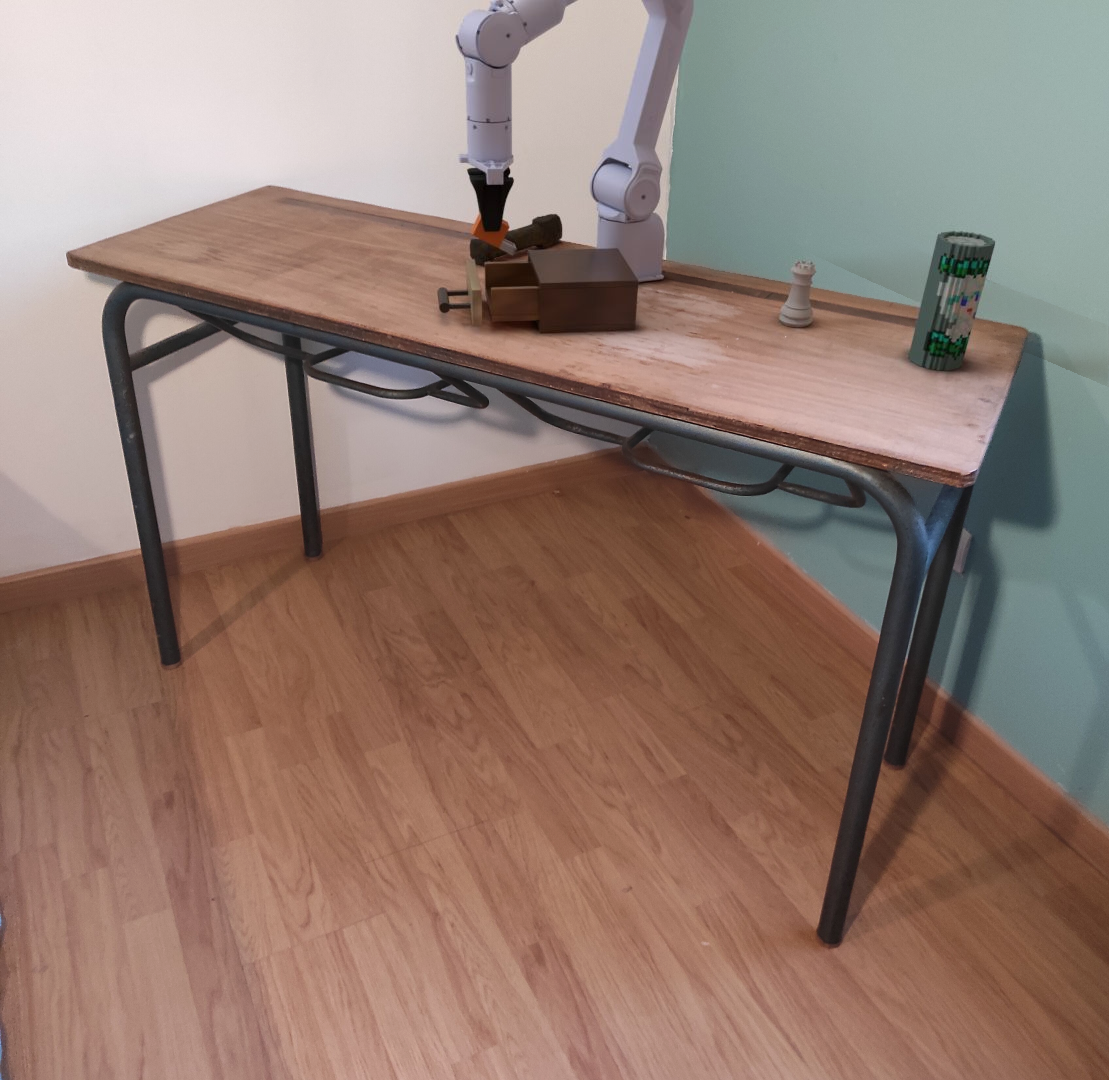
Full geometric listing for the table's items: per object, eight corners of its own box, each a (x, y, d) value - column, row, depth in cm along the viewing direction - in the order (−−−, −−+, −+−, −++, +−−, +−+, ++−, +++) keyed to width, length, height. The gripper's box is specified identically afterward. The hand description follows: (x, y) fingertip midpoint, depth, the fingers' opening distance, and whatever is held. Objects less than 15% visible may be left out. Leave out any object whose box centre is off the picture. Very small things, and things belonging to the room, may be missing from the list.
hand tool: (485, 268, 145) (485, 237, 143) (468, 261, 147) (467, 231, 145) (573, 244, 156) (574, 215, 154) (556, 238, 159) (557, 210, 156)
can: (932, 373, 116) (964, 249, 108) (899, 354, 121) (927, 234, 112) (971, 365, 118) (1005, 243, 110) (936, 347, 123) (967, 229, 114)
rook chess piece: (792, 330, 127) (802, 270, 122) (771, 318, 130) (780, 260, 126) (818, 325, 128) (829, 265, 124) (797, 314, 132) (807, 256, 127)
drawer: (440, 327, 122) (439, 290, 120) (436, 294, 133) (435, 259, 130) (561, 323, 124) (562, 287, 122) (548, 291, 135) (549, 257, 132)
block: (472, 235, 128) (482, 213, 126) (470, 230, 130) (481, 208, 128) (513, 255, 130) (524, 234, 129) (511, 250, 132) (522, 229, 131)
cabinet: (539, 332, 124) (540, 282, 120) (527, 296, 135) (527, 249, 132) (635, 329, 126) (638, 280, 122) (615, 294, 137) (617, 247, 133)
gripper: (454, 108, 127) (457, 213, 134) (461, 130, 115) (464, 244, 122) (507, 108, 128) (507, 212, 135) (520, 130, 116) (519, 243, 123)
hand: (490, 227), depth 129 cm, fingers closed on block, 2 cm apart
